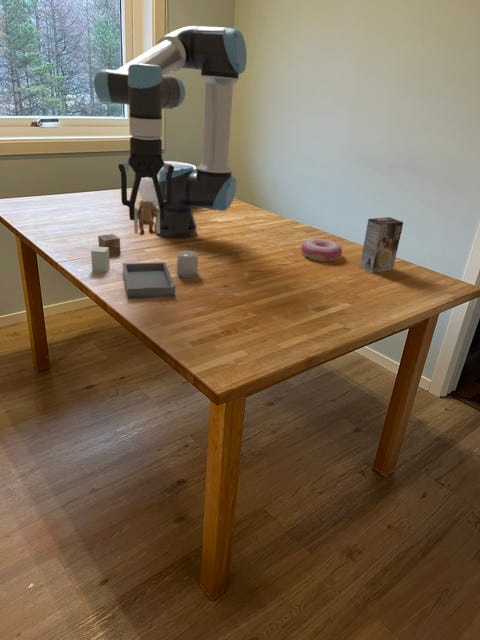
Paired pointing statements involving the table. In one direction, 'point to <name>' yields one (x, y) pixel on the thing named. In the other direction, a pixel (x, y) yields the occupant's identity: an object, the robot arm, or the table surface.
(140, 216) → the lion figurine
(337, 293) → the table surface
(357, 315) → the table surface
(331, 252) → the donut
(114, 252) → the walnut block
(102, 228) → the table surface
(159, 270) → the slate tray
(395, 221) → the coffee box
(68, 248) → the table surface
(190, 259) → the pale grey rounded cylinder
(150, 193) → the pot
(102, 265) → the sage block
